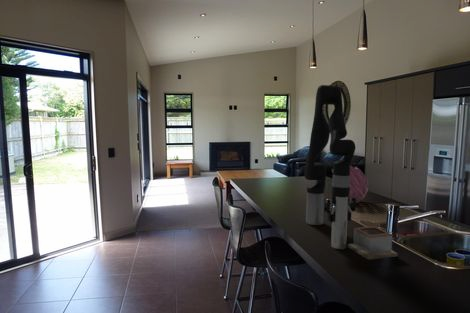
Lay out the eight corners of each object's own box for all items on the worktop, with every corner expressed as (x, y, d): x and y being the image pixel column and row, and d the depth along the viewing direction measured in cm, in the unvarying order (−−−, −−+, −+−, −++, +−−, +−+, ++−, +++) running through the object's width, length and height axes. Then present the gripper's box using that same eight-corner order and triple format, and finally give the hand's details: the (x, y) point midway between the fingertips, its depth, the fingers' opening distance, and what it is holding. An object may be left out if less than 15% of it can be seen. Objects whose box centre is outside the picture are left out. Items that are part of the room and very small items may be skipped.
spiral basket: (317, 176, 209) (353, 154, 205) (318, 179, 236) (350, 160, 231) (341, 212, 201) (379, 190, 197) (340, 211, 228) (373, 192, 223)
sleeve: (353, 245, 138) (354, 227, 137) (374, 242, 140) (374, 226, 139) (369, 254, 127) (370, 236, 127) (391, 252, 130) (392, 234, 129)
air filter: (334, 242, 144) (336, 189, 141) (348, 246, 139) (350, 191, 137) (328, 246, 139) (330, 191, 136) (342, 250, 134) (345, 193, 132)
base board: (347, 246, 139) (347, 243, 139) (374, 243, 142) (374, 241, 142) (368, 259, 125) (368, 256, 125) (397, 256, 129) (397, 253, 129)
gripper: (350, 182, 141) (348, 217, 143) (321, 184, 138) (320, 219, 140) (360, 186, 134) (358, 222, 136) (330, 187, 131) (329, 225, 132)
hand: (339, 221), depth 138 cm, fingers open, 8 cm apart
